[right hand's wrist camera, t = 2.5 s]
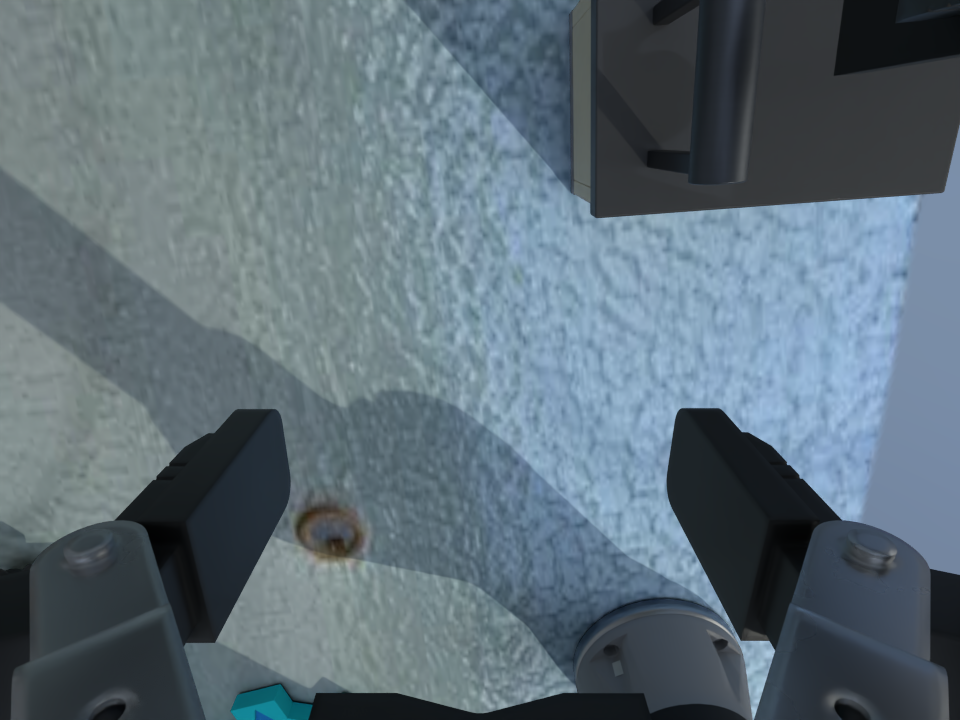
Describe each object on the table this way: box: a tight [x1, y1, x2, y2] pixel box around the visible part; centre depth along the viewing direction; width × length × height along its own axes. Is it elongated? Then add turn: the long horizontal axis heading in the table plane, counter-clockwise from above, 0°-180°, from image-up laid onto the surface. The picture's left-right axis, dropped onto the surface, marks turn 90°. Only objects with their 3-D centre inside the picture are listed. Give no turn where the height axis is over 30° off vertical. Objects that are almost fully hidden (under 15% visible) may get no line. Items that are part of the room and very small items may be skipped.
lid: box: [590, 0, 960, 218], centre depth 20 cm, size 16×10×9 cm, turn 94°
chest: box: [569, 0, 591, 203], centre depth 29 cm, size 15×10×11 cm
